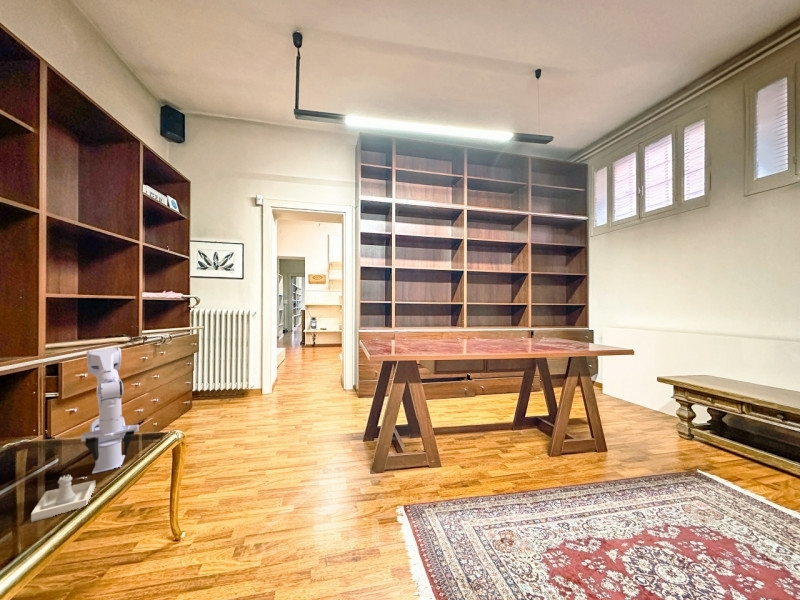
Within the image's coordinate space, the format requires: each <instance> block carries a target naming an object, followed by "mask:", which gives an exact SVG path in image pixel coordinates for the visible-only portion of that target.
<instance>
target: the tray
mask: <svg viewBox="0 0 800 600" xmlns="http://www.w3.org/2000/svg"><path fill="white" fill-rule="evenodd" d="M96 486H97V485H96V479H95V480H91V481H85V482H82V483H81V482H80V483H77V484H73V485H72V484H71V489H72V491H73V492H74V493H75V497H76V498H75V500H74V501H73V502H71V503H67V504H63V505H59V506H57V505H56V499H57V498H58V495H59V491H60V488H59V487H58V488H55V489H51V490H47V491H46V490H45V492H44V494H43V495H42V496H41V498H40V500H39V501H38V503H37V504H36V506H35V507H34V509H33V510H32V512H31V514H30V521H31V523H33V522H38V521H42V520H45V519H48V518H52V517H53V516H54V517H56V516H55V515H57V516H59V515H58V514H61V513H65V512H68V511H71V510H74V509H77V508H80V507H83V506H86V505H87V504H88V501H89V499H90V498H91V499H92V497H91V495H92V493H93V494H94V492H95V490H96V488H95V487H96ZM94 489H95V490H94ZM93 491H94V492H93ZM92 496H93V495H92ZM91 499H90V500H91ZM89 502H90V501H89ZM88 505H89V504H88ZM65 514H66V513H65ZM61 515H62V514H61Z"/></svg>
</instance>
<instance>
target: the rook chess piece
mask: <svg viewBox="0 0 800 600" xmlns="http://www.w3.org/2000/svg"><path fill="white" fill-rule="evenodd" d="M72 480H73V476H71V474H66V475H62V476H60V477H59V478H58V481H57V484H59V485H58V489H59V488H60V491H59V495H58V498H57V499H56V505H57V506H59V505H63V504H67V503H71V502H73V501H74V500H75V498H76V497H75V493H74V492H73V491H72V489H71V486H72Z"/></svg>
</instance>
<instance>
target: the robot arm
mask: <svg viewBox="0 0 800 600" xmlns="http://www.w3.org/2000/svg"><path fill="white" fill-rule="evenodd" d="M121 365H122V349H121V348H120V347H119V346H118V347H112V348H101V349H88V350H87V351H86V366H87V372H88V374H90V375H94V376H95V379H96V383H97V385H96V399H97V405H98V418H96V419H94V421H92V423H90V425H89V432H84V433H82V434H81V436H80V439H81V440H80V442H82V443H83V442H85V443H84V445H85V447H86V448H87V449H88V450H89V452H90V453H91V455H92V457H93V460H94V462H95V465H94V468H93V469H92V471H91V474H93V475H94V474H96V473H97V474H98V473H102V472H107V471H110V470H111V471H112V470H115V469H114V468H116V469H119V468H118V467H120V468H122V466H121V465H123V463H124V460H125V457H126V456H127V455H128V453H129V448H130V444H131V441H132V439H133V437H134V435H135V433H138V432H139V429H140V427H139V426H140V425H139V424H133V425H132V424H130V425H126V422H125V418H124V416H122V414H123V411H122V406H123V405H122V398H123V397H124V384H123V381H122V379H121V378H120V376H119V372H118V371H119V370H120V369H121ZM122 442H123V443H124V451H123V453H124V454H122Z"/></svg>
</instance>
